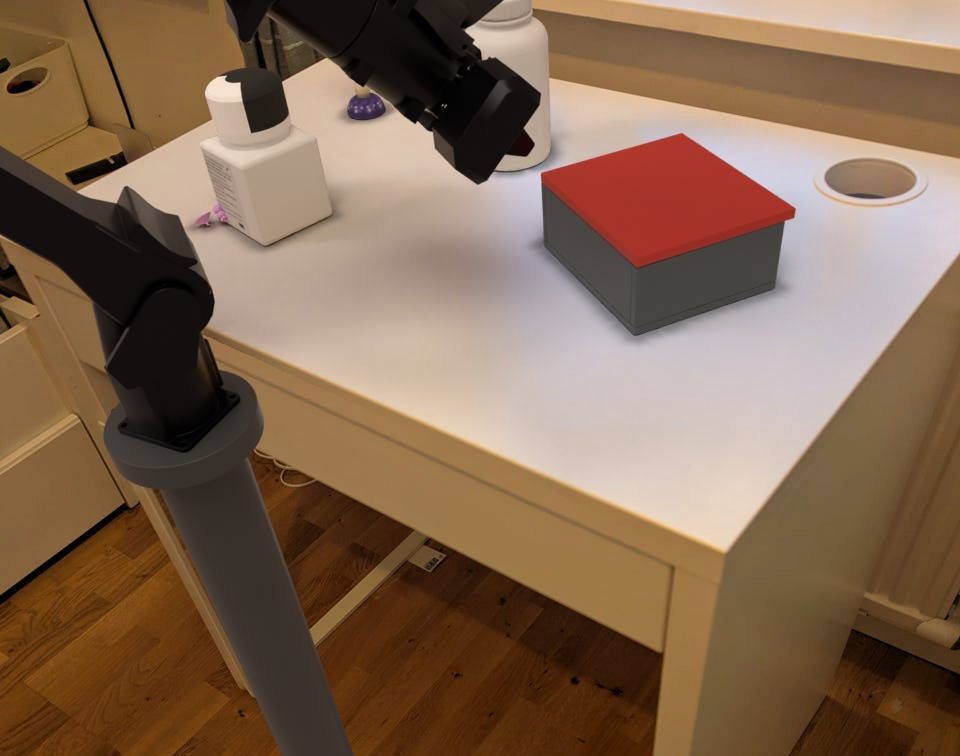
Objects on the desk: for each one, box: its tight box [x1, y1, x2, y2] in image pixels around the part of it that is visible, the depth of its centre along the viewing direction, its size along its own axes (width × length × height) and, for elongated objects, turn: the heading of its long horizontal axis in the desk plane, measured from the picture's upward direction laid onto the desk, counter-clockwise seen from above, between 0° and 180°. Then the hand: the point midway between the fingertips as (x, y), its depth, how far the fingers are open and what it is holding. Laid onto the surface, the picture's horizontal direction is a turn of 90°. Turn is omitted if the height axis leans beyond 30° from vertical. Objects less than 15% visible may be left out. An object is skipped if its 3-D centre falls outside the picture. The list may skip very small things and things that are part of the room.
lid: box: [540, 132, 797, 268], centre depth 72 cm, size 13×15×1 cm
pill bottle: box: [464, 0, 552, 172], centre depth 88 cm, size 8×8×15 cm
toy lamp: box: [346, 82, 386, 121], centre depth 98 cm, size 5×5×17 cm
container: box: [199, 66, 333, 247], centre depth 83 cm, size 8×8×13 cm
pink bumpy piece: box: [194, 204, 228, 227], centre depth 87 cm, size 3×2×2 cm
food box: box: [540, 182, 786, 336], centre depth 74 cm, size 12×15×6 cm
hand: (529, 149), depth 65 cm, fingers closed
